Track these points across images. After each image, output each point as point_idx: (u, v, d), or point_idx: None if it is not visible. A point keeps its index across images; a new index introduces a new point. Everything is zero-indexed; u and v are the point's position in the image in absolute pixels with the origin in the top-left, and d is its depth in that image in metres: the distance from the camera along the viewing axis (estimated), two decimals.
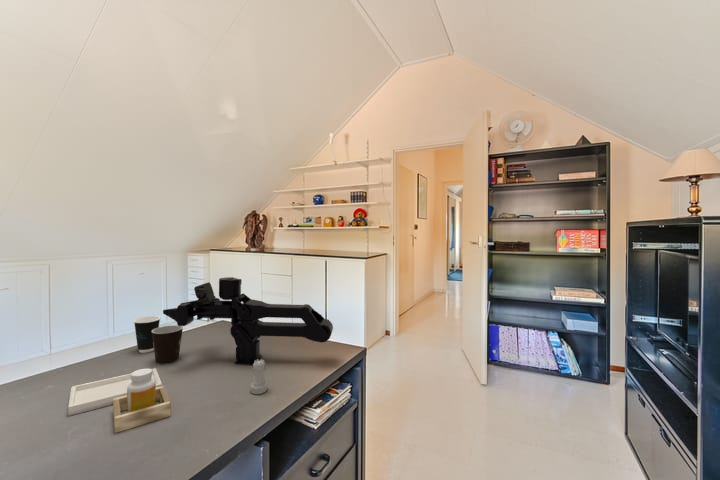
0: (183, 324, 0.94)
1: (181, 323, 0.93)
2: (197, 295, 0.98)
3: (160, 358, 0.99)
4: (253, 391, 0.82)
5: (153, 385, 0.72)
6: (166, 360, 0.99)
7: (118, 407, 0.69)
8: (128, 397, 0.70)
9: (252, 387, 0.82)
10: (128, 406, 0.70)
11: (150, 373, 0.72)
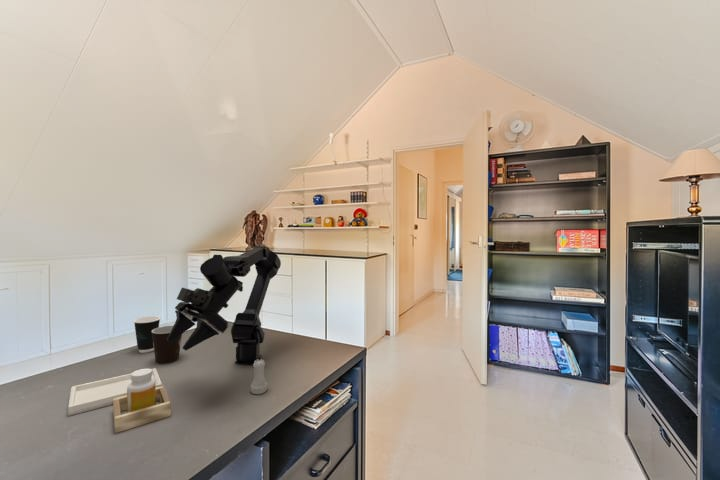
0: (226, 326, 0.79)
1: (225, 327, 0.78)
2: (200, 300, 0.78)
3: (160, 358, 0.99)
4: (253, 391, 0.82)
5: (153, 385, 0.72)
6: (166, 360, 0.99)
7: (118, 407, 0.69)
8: (128, 397, 0.70)
9: (252, 387, 0.82)
10: (128, 406, 0.70)
11: (150, 373, 0.72)
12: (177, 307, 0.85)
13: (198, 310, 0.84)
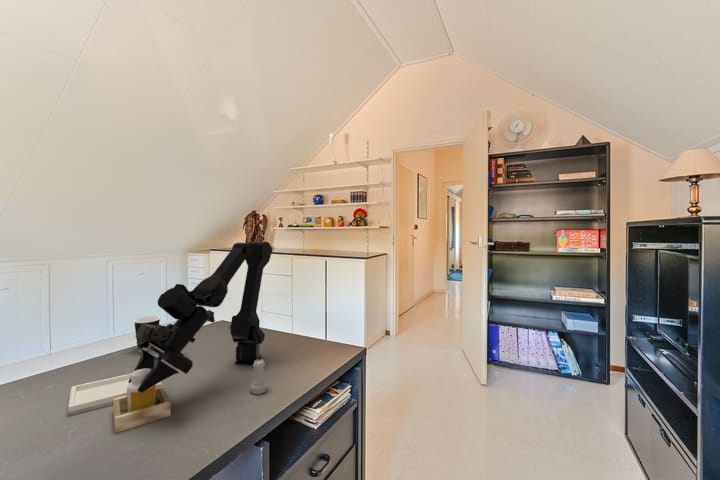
0: (191, 366, 0.72)
1: (189, 367, 0.71)
2: (161, 338, 0.71)
3: (160, 358, 0.99)
4: (253, 391, 0.82)
5: None
6: None
7: (118, 407, 0.69)
8: (128, 396, 0.70)
9: (252, 387, 0.82)
10: (128, 406, 0.70)
11: None
12: (139, 342, 0.78)
13: (161, 346, 0.77)
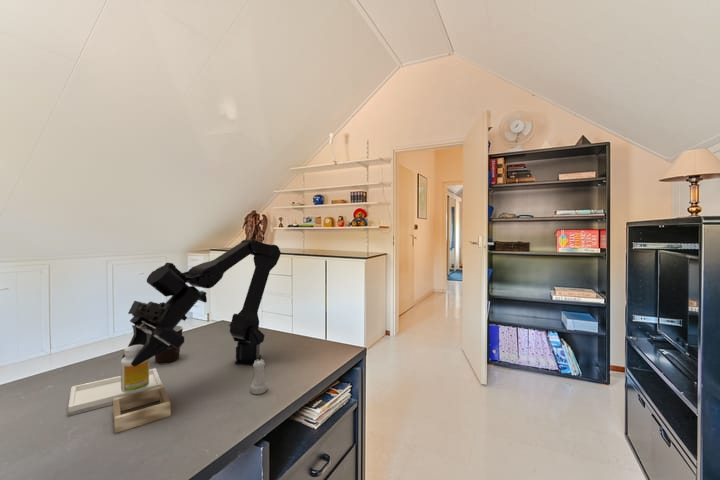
0: (182, 341, 0.74)
1: (180, 342, 0.74)
2: (153, 314, 0.74)
3: (160, 358, 0.99)
4: (253, 391, 0.82)
5: (146, 360, 0.75)
6: (166, 360, 0.99)
7: (118, 407, 0.69)
8: (122, 370, 0.72)
9: (252, 387, 0.82)
10: (122, 380, 0.72)
11: None
12: (132, 320, 0.80)
13: (154, 323, 0.80)
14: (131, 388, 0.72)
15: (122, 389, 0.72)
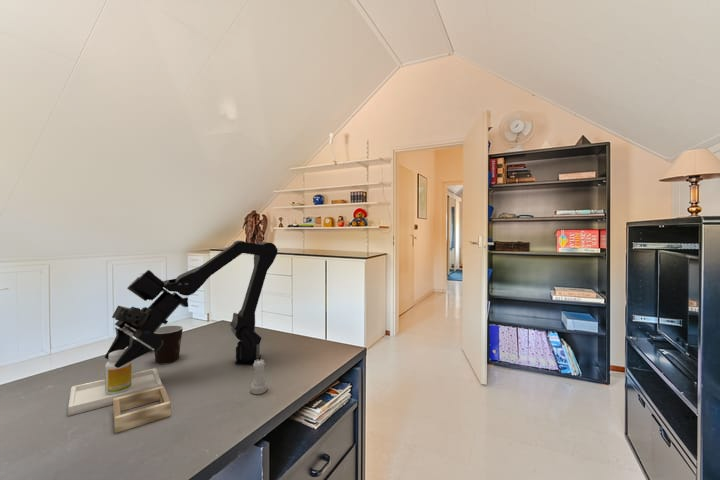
0: (161, 343, 0.80)
1: (159, 345, 0.80)
2: (134, 318, 0.80)
3: (160, 358, 0.99)
4: (253, 391, 0.82)
5: (129, 364, 0.81)
6: (166, 360, 0.99)
7: (118, 407, 0.69)
8: (106, 374, 0.79)
9: (252, 387, 0.82)
10: (106, 382, 0.79)
11: None
12: (116, 324, 0.87)
13: (137, 327, 0.86)
14: (114, 390, 0.78)
15: (106, 391, 0.79)
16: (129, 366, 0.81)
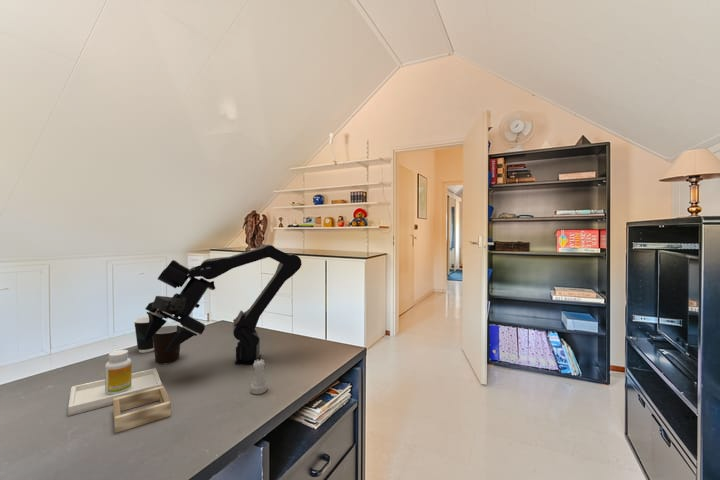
0: (204, 328, 0.90)
1: (203, 329, 0.90)
2: (177, 308, 0.86)
3: (160, 358, 0.99)
4: (253, 391, 0.82)
5: (129, 364, 0.81)
6: (166, 360, 0.99)
7: (118, 407, 0.69)
8: (106, 374, 0.79)
9: (252, 387, 0.82)
10: (106, 382, 0.79)
11: (126, 353, 0.81)
12: (148, 309, 0.91)
13: (171, 311, 0.92)
14: (114, 390, 0.78)
15: (106, 391, 0.79)
16: (129, 366, 0.81)
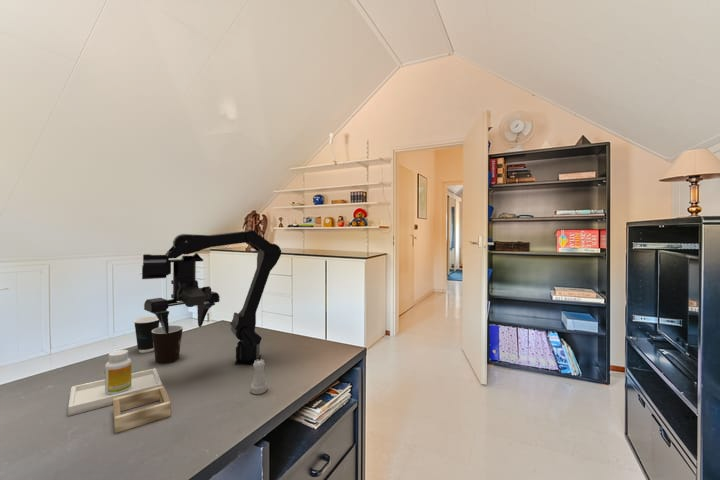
0: None
1: None
2: None
3: (160, 358, 0.99)
4: (253, 391, 0.82)
5: (129, 364, 0.81)
6: (166, 360, 0.99)
7: (118, 407, 0.69)
8: (106, 374, 0.79)
9: (252, 387, 0.82)
10: (106, 382, 0.79)
11: (126, 353, 0.81)
12: (159, 310, 0.84)
13: None
14: (114, 390, 0.78)
15: (106, 391, 0.79)
16: (129, 366, 0.81)
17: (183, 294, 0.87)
